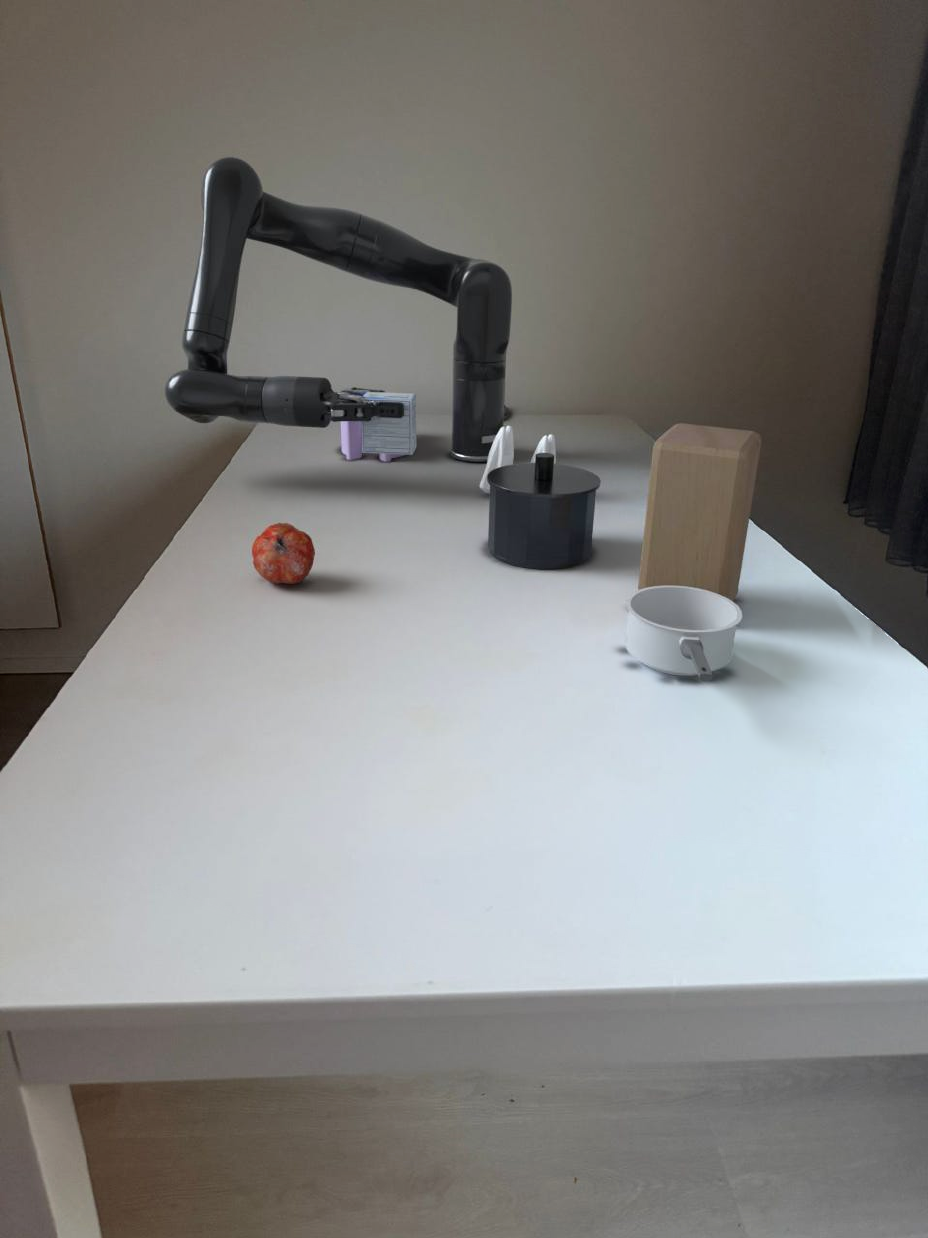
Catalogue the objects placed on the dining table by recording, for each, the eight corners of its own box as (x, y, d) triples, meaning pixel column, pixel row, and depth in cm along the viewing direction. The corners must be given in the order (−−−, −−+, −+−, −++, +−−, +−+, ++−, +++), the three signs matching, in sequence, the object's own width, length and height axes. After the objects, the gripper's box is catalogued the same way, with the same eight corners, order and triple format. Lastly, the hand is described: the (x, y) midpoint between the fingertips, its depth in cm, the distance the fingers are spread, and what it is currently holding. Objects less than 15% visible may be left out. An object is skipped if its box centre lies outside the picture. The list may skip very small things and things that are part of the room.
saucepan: (633, 725, 81) (639, 670, 78) (616, 629, 99) (621, 582, 97) (763, 733, 80) (774, 678, 78) (723, 635, 98) (730, 587, 96)
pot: (493, 530, 128) (496, 464, 124) (590, 536, 126) (596, 470, 122) (483, 565, 116) (485, 493, 112) (590, 572, 114) (596, 500, 110)
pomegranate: (258, 587, 113) (231, 565, 103) (274, 533, 115) (249, 506, 105) (315, 599, 112) (293, 578, 102) (330, 544, 114) (310, 518, 104)
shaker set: (479, 499, 141) (481, 429, 136) (477, 491, 145) (479, 422, 140) (555, 500, 142) (560, 429, 137) (552, 492, 145) (556, 423, 141)
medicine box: (416, 448, 142) (416, 393, 139) (412, 456, 138) (412, 399, 135) (367, 446, 143) (366, 391, 139) (361, 453, 139) (360, 396, 135)
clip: (356, 433, 179) (355, 397, 176) (419, 435, 178) (419, 400, 175) (333, 459, 161) (331, 420, 158) (402, 462, 160) (402, 423, 157)
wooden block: (737, 597, 108) (764, 430, 99) (722, 629, 99) (749, 450, 91) (654, 582, 111) (673, 420, 103) (633, 612, 103) (651, 438, 95)
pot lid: (492, 468, 125) (493, 438, 123) (599, 473, 123) (602, 444, 121) (480, 499, 111) (481, 466, 110) (600, 506, 110) (602, 473, 108)
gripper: (281, 385, 131) (397, 390, 130) (309, 368, 144) (415, 373, 142) (285, 436, 135) (398, 442, 133) (312, 415, 147) (415, 421, 146)
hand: (406, 406), depth 138 cm, fingers closed on medicine box, 4 cm apart
